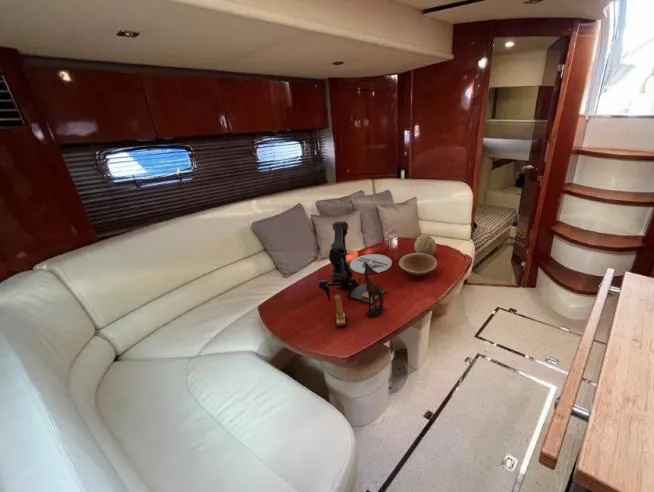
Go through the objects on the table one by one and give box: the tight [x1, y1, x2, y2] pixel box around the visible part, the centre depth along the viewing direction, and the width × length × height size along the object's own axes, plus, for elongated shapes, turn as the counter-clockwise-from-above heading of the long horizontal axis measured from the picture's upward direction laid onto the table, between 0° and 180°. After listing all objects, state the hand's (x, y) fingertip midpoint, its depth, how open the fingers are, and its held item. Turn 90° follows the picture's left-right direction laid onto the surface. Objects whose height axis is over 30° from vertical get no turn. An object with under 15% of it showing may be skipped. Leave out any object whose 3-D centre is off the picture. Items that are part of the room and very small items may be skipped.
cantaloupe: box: [413, 235, 437, 256], centre depth 207 cm, size 15×15×15 cm
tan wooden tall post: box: [334, 294, 346, 328], centre depth 145 cm, size 8×4×15 cm, turn 10°
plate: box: [349, 253, 393, 275], centre depth 202 cm, size 28×28×1 cm
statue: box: [363, 262, 384, 318], centre depth 147 cm, size 12×7×30 cm, turn 139°
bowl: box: [398, 252, 438, 277], centre depth 189 cm, size 24×24×8 cm
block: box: [362, 292, 369, 299], centre depth 166 cm, size 4×4×1 cm
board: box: [350, 283, 386, 306], centre depth 169 cm, size 16×14×1 cm
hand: (339, 300), depth 146 cm, fingers open, 9 cm apart
